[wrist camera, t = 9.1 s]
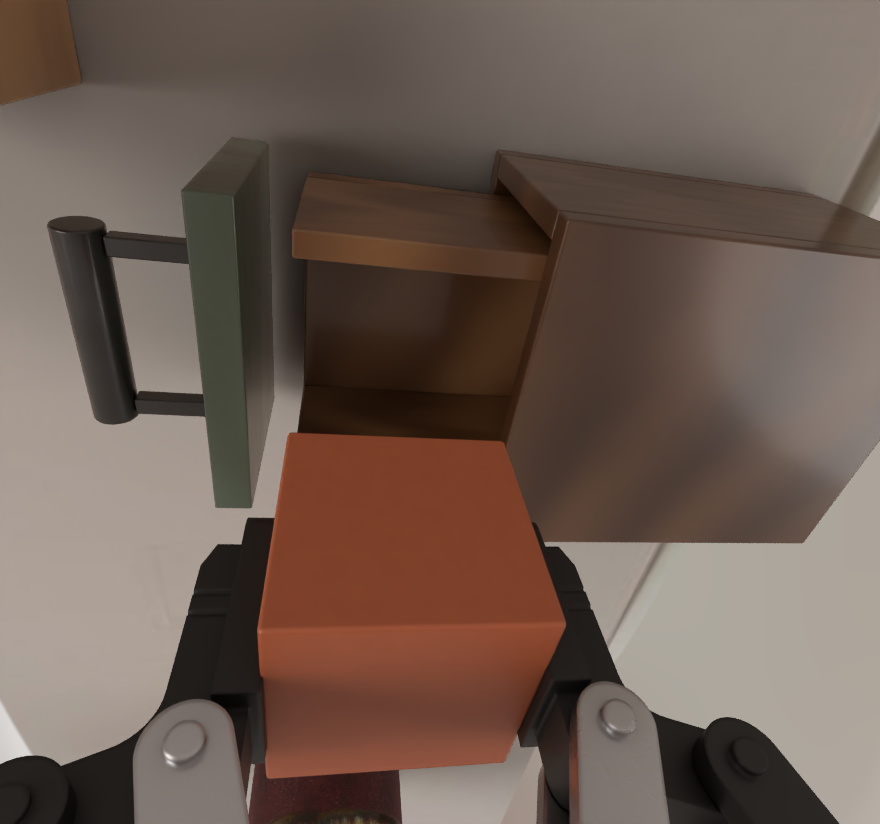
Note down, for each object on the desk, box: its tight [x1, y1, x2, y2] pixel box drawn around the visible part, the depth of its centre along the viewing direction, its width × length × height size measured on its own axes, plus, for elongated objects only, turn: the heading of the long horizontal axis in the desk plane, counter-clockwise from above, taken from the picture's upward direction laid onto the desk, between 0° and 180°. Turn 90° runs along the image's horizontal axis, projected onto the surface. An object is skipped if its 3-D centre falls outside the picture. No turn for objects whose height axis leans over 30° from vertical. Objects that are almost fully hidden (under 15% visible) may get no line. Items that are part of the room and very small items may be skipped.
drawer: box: [47, 137, 552, 508], centre depth 20 cm, size 17×10×7 cm, turn 82°
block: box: [257, 433, 566, 779], centre depth 11 cm, size 4×4×4 cm
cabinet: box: [488, 150, 880, 543], centre depth 22 cm, size 14×12×9 cm
